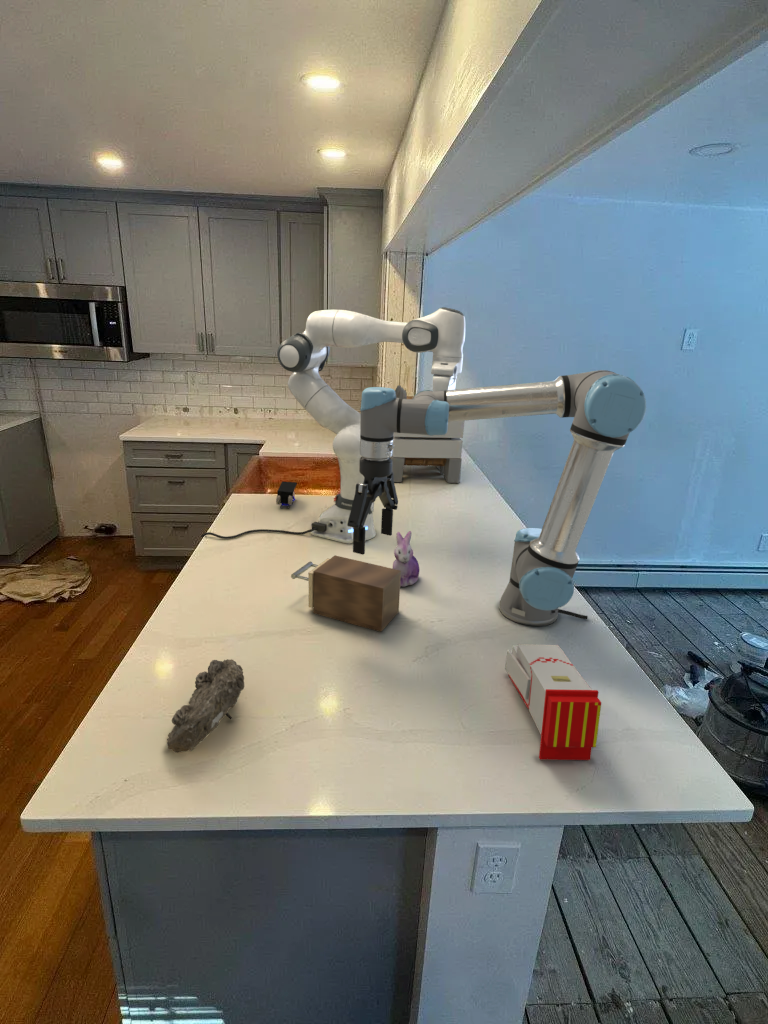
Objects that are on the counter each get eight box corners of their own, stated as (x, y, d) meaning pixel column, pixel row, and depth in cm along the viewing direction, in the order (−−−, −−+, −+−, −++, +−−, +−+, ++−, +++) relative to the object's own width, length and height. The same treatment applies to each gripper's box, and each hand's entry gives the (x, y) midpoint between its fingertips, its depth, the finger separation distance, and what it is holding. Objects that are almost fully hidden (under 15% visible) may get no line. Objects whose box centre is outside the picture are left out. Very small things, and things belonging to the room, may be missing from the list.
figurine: (399, 590, 159) (401, 541, 154) (382, 575, 168) (384, 528, 163) (427, 584, 164) (431, 536, 158) (410, 570, 172) (413, 524, 167)
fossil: (192, 660, 117) (244, 628, 112) (224, 691, 120) (276, 661, 115) (142, 746, 98) (202, 712, 93) (182, 779, 101) (242, 748, 96)
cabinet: (313, 613, 146) (313, 571, 142) (334, 595, 156) (334, 555, 152) (381, 632, 139) (383, 588, 135) (398, 612, 148) (401, 570, 144)
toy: (554, 627, 126) (611, 698, 97) (548, 682, 129) (602, 767, 99) (500, 626, 125) (540, 697, 96) (495, 681, 128) (534, 767, 99)
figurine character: (293, 513, 218) (297, 497, 231) (292, 495, 215) (297, 480, 228) (275, 513, 218) (281, 496, 231) (274, 495, 214) (280, 479, 228)
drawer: (290, 602, 149) (289, 567, 146) (309, 586, 158) (309, 553, 154) (370, 624, 140) (372, 588, 137) (386, 606, 149) (388, 572, 145)
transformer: (382, 463, 289) (386, 382, 275) (445, 464, 293) (451, 384, 279) (390, 482, 257) (394, 392, 243) (460, 483, 261) (468, 394, 247)
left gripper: (442, 362, 177) (438, 407, 182) (430, 368, 159) (426, 417, 163) (462, 364, 176) (458, 408, 181) (452, 370, 157) (448, 419, 162)
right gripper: (362, 472, 117) (360, 565, 124) (414, 449, 137) (409, 530, 145) (332, 466, 120) (331, 557, 127) (387, 444, 141) (383, 524, 148)
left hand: (443, 413), depth 172 cm, fingers open, 8 cm apart
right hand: (373, 543), depth 136 cm, fingers open, 13 cm apart
